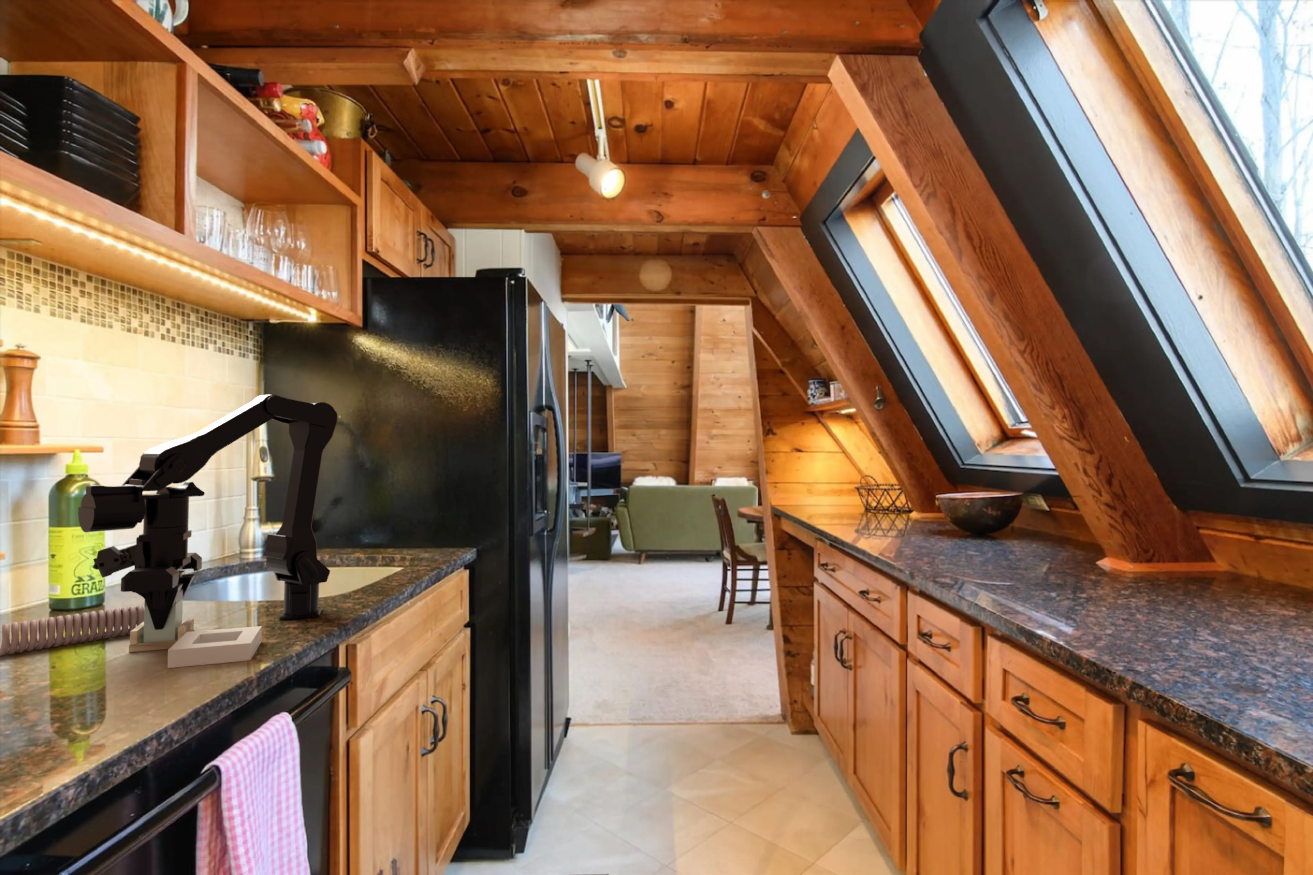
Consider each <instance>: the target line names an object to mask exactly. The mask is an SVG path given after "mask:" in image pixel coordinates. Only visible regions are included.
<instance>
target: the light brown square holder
mask: <svg viewBox="0 0 1313 875" xmlns="http://www.w3.org/2000/svg"><path fill="white" fill-rule="evenodd" d="M192 631H195V618H194V617H192V618H191V617H190V618H187V619H186V620H185V621H184V622H182V625H181V626H179V627H178V640H179V639H180V638H181V637H182V636H183V635H184V634H185V633H186V632H192ZM143 640H144V622H142V623H141V624H140V625H138V626H137V625H136V628H134V629H133V630H132V631H130V635H129V645H128V652H129V653H134V652H135V653H136V652H145V651H146V652H148V651H158V650H169V649H170V648H171V647H172V646H173V645H174V644H175V643H176V642H177V641H178V640H174V641H162V642H150V643H143Z"/></svg>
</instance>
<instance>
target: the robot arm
mask: <svg viewBox="0 0 1313 875" xmlns="http://www.w3.org/2000/svg"><path fill="white" fill-rule="evenodd" d="M271 420H273V421H276V422H278V423H281V424H285V425H288V434H289V437H290V440H291V442H292V446H293V453H292V454H293V455H292V460H291V467H290V471H289V473H290V474H289V480H288V485H287V493H286V499H285V503H284V504H285V506H284V513H283V516H282V524H281V526H280V527H279V529H278V530H277V532H276V533H275V534H274V533H268V534H267V537H266V548H265V551H264V552H263V555H262V557H266V562H265V563H266V565H267V567H268V568H269V569H270V570H271V571H272V572H273V573H274V576H275V579H276V581H279V582H280V581H281V582H283V583H284V584H283V585H284V587H283V609H282V611H281V613H280V614H279V615H278V619H279V620H289V619H290V620H293V619H302V618H306V619H307V618H316V617H320V615H321V613H322V610H323V606H320V605H319V604H320V603H319V598H320V597H319V595H320V584H323V583H327V581H328V579H329V576H330V574H331V573H330V572H331V570H330V569H329V568H328V567H327V566H326V565H325V564H323V562H321V561H320V560H319V558H318V544H317V543H318V542H317V539H316V536H315V533H314V531H313V528H312V527H313V526H312V525H313V519H314V513H315V512H314V511H315V506H316V499H317V494H318V493H317V492H318V486H319V485H318V484H319V479H320V472H321V465H322V458H323V452H324V450H325V449H326V447H327V445H328V444H329V442H330V441H331V439H333V437H334V435H335V434H334V433H335V431H336V428H337V424H338V420H339V419H338V411H336V410H335V408H334V406H332V405H331V404H330V403H327V402H325V401H324V402H323V401H322V402H321V401H318V402H306V401H302V400H297V399H291V398H286V397H282V396H280V395H277V394H261V395H258V396H256V397H254V398H253V400H252V401H249V402H248V403H246V404H244V405H243V406H241V407H239V408H237V409H236V410H234V411H232V412H231V413H228V414H227V415H225V416H223V417H222V418H219V419H218V420H216V421H214V422H213V423H211V424H209V425H207V426H206V427H204V428H202V429H201V430H199V431H197V432H195V433H192V434H190V435H187V436H183V437H181V438H177V439H174V440H173V439H172V440H170V441H167V442H164V443H161V444H159V445H157V446H153V447H151V448H148V449H147V450H146V451H145V452H143V453H142V454H141V456H140V460H139V464H138V465H139V466H138V467H137V468H136V469H135V470H134V472H132V473H131V475H130V476H129V477H128V478H127V479H126V480H125V481H124V482H123V483H122V485H101V484H99V485H98V484H92V485H91V484H90V485H86V486H85V494H84V495H83V496H82V498H81V502H80V506H78V509H77V515H78V516H77V517H78V518H77V519H78V523H79V524H78V525H79V527H80V529H81V530H82V531H83V532H84V533H95V532H97V533H98V532H105V531H107V532H109V531H119V530H121V531H122V530H133V529H134V528H136V526H137V525H138V524H141V523H142V522H143V526H142V527H143V528H142V529H143V530H142V533H140V534H139V535H138V536H137V537H136V541H135V542H136V543H135V544H133V545H129V546H126V547H123V548H120V549H118V548H117V547H116V546H114V545H112V546H110V547H109V546H108V547H106V548H103V549H100V550H98V551H97V555H96V557H94V558H93V559H92V560H93V562H94V564H93V566H92V568H93V569H94V570H98V571H99V574H100V576H101V578H103V579H104V578H106V577H108V576H109V577H110V576H112V575H113V574H114V573H117V572H119V571H122V570H125V569H128V568H132V567H134V568H133V569H131V570H130V571H129V572H127V573H126V574H125V575H123V577H121V579H120V592H124V593H126V592H128V593H129V592H132V593H134V594H137V595H138V596H140V597H142V598H143V599H144V602H145V601H146V604H147V607H148V610H149V613H150V616H151V619H152V622H153V625H154V629H155V630H160V629H163V628H164V627H165V625H166V622H167V620H168V618H169V615H170V613H171V611H172V608H173V606H174V604H175V601H176V599H177V597H178V594H179V592H180V590H183V599H184V598H185V596H186V594H187V592H188V590H189V588H190V586H191V584H192V582H193V581H194V579H195V578H196V574H195V573H191V574H190V573H189V574H186V570H192V571H193V572H199V571H200V570H201V569H203V567H202V566H203V557H202V556H201V555H200V554H198V553H197V552H188V549H189V547H188V545H189V544H188V543H189V538H191V537H192V530H190V529H189V519H190V518H189V515H190V514H189V513H190V512H189V507H190V497H193V498H194V497H203V496H204V495H205V492H204V490H202V489H200V488H199V487H197V485H195V483H194V481H189V480H190V479H191V478H192V477H194V476H195V475H196V474H197V473H198V472H199V471H200V470H202V469H203V468H204V467H206V465H207V463H208V462H209V461H210V459H211V458H213V456H215V454H217V453H218V452H220V451H221V450H223V449H225V448H226V447H228V446H229V445H231V444H233V443H234V442H236V441H237V440H239V439H241V438H242V437H243V438H244V436H245V435H248V434H250V433H251V432H252V431H254V430H256V429H257V428H259V427H261V426H263V425H264V424H265V423H267V422H269V421H271ZM172 484H174V485H175V484H177V485H178V484H181V485H180V486H170V485H172ZM143 492H156V493H143Z"/></svg>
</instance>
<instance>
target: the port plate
mask: <svg viewBox="0 0 1313 875" xmlns="http://www.w3.org/2000/svg"><path fill="white" fill-rule="evenodd" d="M262 635H263V626H262V625H261V626H260V625H259V626H248V627H247V626H243V627H233V628H232V627H231V628H221V629H207V630H194V631H192V632H186V633H185V634H184V635H183V636H182V637H181V638H180V639H179V640H178V641H177V642H176V643H175V644H174V645H173V646H172V647H171V648H170V649H167V669H173V668H185V667H192V666H205V665H215V664H224V663H235V662H245V661H251V660H252V658H253V657H254V655H255V653H256V652H257V650H258V648H259V646H260V645H261V643H262V638H263V637H262Z"/></svg>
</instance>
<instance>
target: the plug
mask: <svg viewBox="0 0 1313 875" xmlns="http://www.w3.org/2000/svg"><path fill="white" fill-rule="evenodd" d="M183 601H184V598H183V590H180V592H179V594H178V597H177V599H176V601H175V604H174V606H173V608H172V611H171V613H170V615H169V618H168V620H167V622H166V625H165V627H164V628H163V629H160V630H155V629H154V625H153V622H152V619H151V616H150V613H149V610H148V607H147V604H146V601H145V600H144V603H143V604H144V606H143V608H144V640H143V643H150V642H162V641H174V640H178V627H179V626H181V625H182V624H183V605H184V604H183V603H184V602H183Z"/></svg>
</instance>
